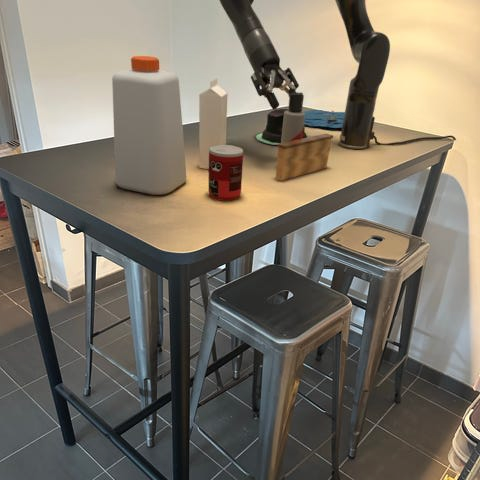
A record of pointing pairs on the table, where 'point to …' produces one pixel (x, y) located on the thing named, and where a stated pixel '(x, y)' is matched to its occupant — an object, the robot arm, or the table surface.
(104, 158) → the table surface
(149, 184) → the plastic bottle
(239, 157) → the canned food
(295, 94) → the lotion bottle
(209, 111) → the milk
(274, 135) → the chocolate cake
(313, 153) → the wall panel
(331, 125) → the decorative plate
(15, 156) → the table surface
